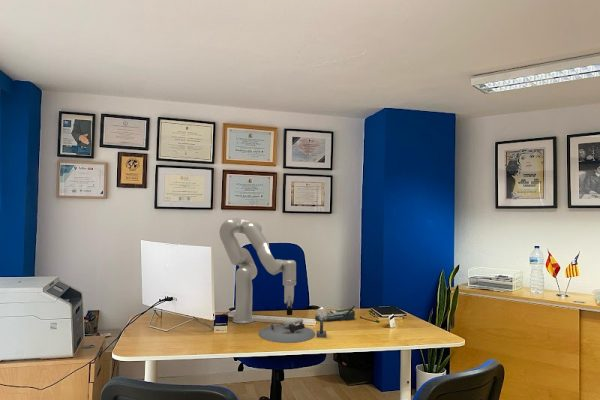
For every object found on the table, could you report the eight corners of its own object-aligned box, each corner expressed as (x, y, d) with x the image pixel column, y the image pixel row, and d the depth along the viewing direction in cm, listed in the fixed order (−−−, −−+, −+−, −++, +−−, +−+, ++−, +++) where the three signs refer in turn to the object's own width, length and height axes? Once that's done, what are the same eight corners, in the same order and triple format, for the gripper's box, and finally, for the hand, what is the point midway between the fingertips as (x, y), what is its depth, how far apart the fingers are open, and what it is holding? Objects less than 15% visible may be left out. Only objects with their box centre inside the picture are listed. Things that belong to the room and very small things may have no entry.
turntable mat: (255, 342, 197) (255, 341, 197) (261, 324, 227) (261, 323, 227) (316, 343, 197) (316, 343, 197) (314, 325, 227) (314, 325, 227)
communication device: (311, 318, 245) (311, 303, 245) (347, 315, 252) (347, 301, 252) (318, 323, 233) (318, 308, 233) (356, 320, 241) (356, 305, 241)
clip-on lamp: (271, 338, 212) (305, 331, 212) (269, 327, 211) (303, 319, 212) (272, 329, 223) (304, 322, 224) (269, 318, 223) (301, 311, 223)
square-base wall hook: (315, 337, 207) (316, 308, 207) (315, 334, 212) (316, 305, 212) (327, 337, 207) (328, 308, 207) (326, 334, 212) (327, 305, 212)
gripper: (283, 280, 236) (283, 311, 236) (282, 284, 221) (282, 318, 221) (296, 280, 236) (296, 311, 236) (295, 284, 221) (295, 318, 221)
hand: (289, 314), depth 228 cm, fingers closed
